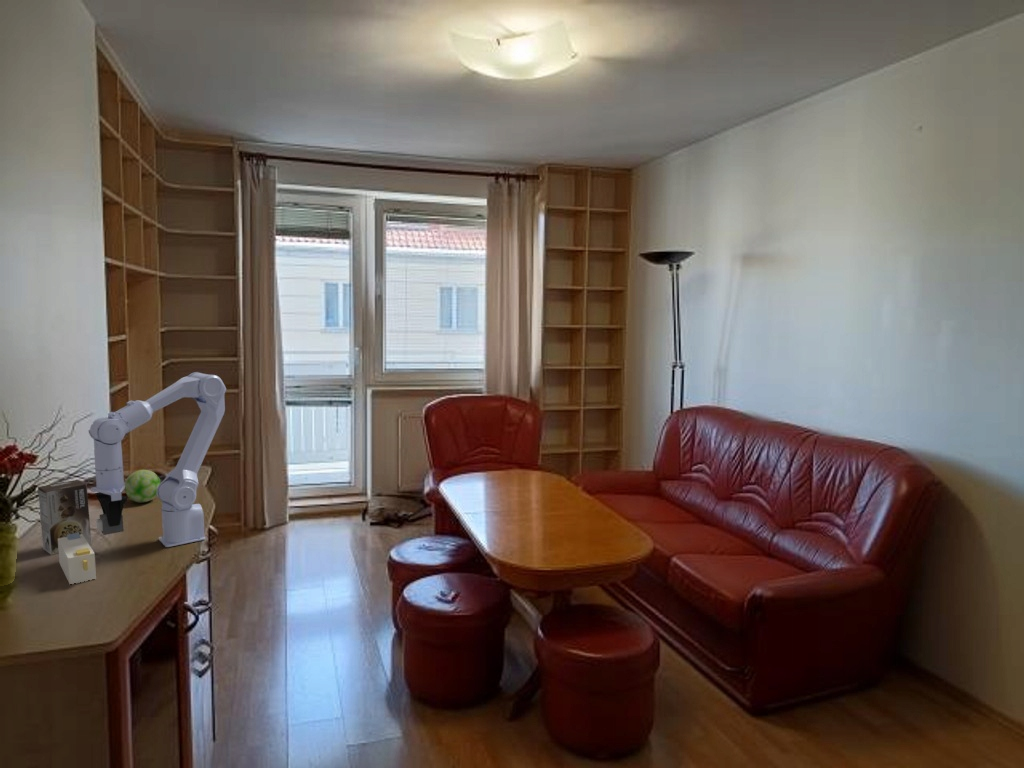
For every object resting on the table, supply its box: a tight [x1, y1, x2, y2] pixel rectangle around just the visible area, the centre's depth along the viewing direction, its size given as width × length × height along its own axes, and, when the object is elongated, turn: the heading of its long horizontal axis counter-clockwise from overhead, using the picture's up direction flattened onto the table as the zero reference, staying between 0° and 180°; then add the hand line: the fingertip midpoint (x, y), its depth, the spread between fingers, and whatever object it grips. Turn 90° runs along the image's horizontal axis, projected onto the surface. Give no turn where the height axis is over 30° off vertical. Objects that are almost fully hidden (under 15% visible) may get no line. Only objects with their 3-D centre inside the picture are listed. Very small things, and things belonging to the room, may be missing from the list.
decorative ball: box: [124, 469, 161, 504], centre depth 212 cm, size 10×10×10 cm
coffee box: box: [37, 479, 93, 556], centre depth 172 cm, size 9×6×16 cm
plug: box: [95, 513, 125, 536], centre depth 166 cm, size 5×4×4 cm
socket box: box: [58, 533, 97, 585], centre depth 158 cm, size 5×19×7 cm, turn 40°
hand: (112, 523), depth 166 cm, fingers closed on plug, 4 cm apart
